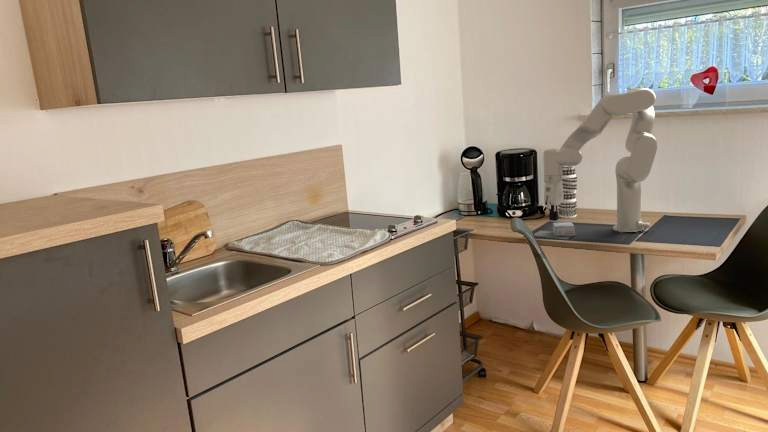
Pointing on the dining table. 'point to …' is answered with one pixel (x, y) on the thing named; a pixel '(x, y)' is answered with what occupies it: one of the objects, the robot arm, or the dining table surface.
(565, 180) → the decorative candle
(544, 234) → the mat
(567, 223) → the medicine box
